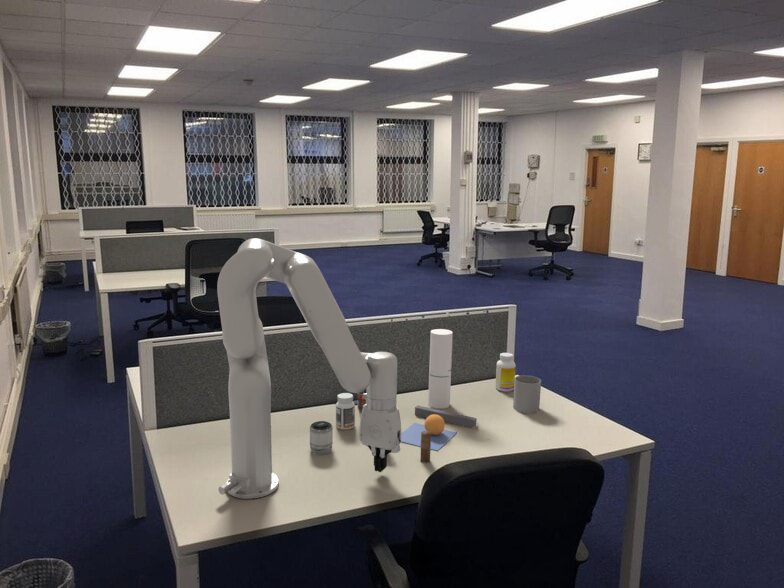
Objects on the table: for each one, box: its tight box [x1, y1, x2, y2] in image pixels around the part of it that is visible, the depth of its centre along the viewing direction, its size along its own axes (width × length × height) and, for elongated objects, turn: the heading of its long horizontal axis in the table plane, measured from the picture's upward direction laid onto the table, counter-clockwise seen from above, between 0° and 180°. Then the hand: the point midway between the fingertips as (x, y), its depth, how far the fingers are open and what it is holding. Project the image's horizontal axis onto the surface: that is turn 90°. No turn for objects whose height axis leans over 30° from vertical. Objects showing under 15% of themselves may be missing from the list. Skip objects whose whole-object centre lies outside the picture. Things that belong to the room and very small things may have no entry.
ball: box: [423, 414, 446, 435], centre depth 186 cm, size 6×6×6 cm
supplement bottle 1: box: [357, 388, 367, 411], centre depth 204 cm, size 6×6×11 cm
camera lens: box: [309, 420, 334, 456], centre depth 174 cm, size 6×6×8 cm
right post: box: [420, 431, 431, 464], centre depth 169 cm, size 3×3×8 cm
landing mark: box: [401, 422, 458, 452], centre depth 185 cm, size 14×14×1 cm
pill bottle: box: [335, 392, 356, 431], centre depth 190 cm, size 6×6×10 cm
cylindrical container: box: [427, 328, 454, 410], centre depth 207 cm, size 7×7×25 cm
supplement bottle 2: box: [495, 352, 517, 393], centre depth 224 cm, size 7×7×13 cm
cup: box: [512, 374, 542, 414], centre depth 207 cm, size 8×8×10 cm
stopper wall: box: [414, 405, 478, 429], centre depth 196 cm, size 2×20×2 cm, turn 62°
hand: (380, 469), depth 161 cm, fingers closed
